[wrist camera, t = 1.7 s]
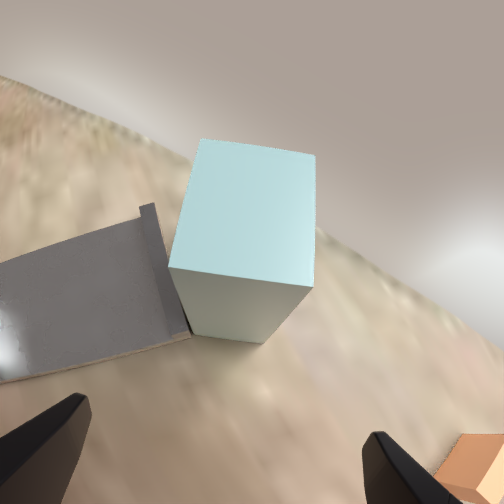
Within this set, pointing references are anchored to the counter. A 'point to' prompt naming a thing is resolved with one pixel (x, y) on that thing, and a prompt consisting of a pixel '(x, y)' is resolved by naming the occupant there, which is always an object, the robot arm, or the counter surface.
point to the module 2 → (475, 469)
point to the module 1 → (244, 239)
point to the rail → (88, 300)
